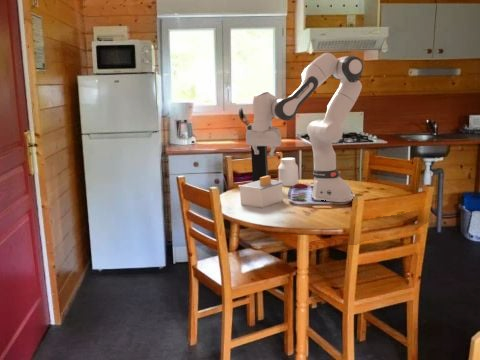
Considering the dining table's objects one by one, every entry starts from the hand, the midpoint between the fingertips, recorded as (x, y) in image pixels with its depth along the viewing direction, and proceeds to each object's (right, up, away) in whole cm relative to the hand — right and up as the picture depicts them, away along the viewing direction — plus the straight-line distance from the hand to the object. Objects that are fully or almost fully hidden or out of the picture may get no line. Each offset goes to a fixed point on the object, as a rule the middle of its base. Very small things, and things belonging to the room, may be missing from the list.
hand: (264, 154), depth 233 cm
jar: (+17, -15, +47) cm, 52 cm away
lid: (-1, -15, +5) cm, 16 cm away
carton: (-1, -24, +7) cm, 25 cm away
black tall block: (0, -17, +40) cm, 43 cm away
